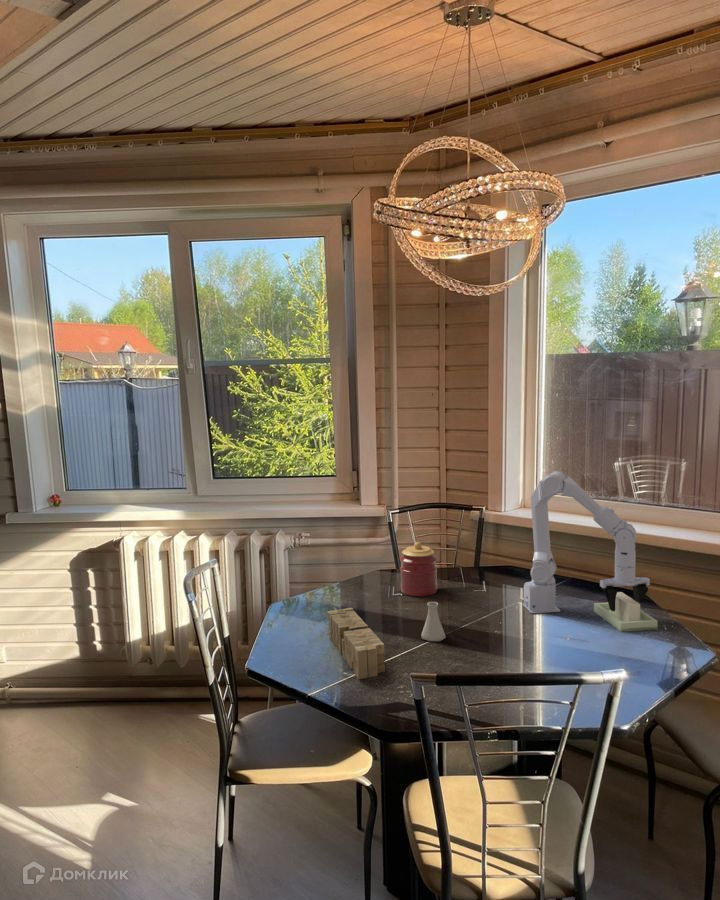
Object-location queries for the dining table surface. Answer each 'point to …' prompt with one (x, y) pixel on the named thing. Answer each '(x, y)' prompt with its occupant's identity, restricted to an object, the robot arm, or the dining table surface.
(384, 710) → the dining table surface
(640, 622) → the tray
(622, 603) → the beige rectangular block
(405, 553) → the canister
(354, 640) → the block tower
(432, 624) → the flask
